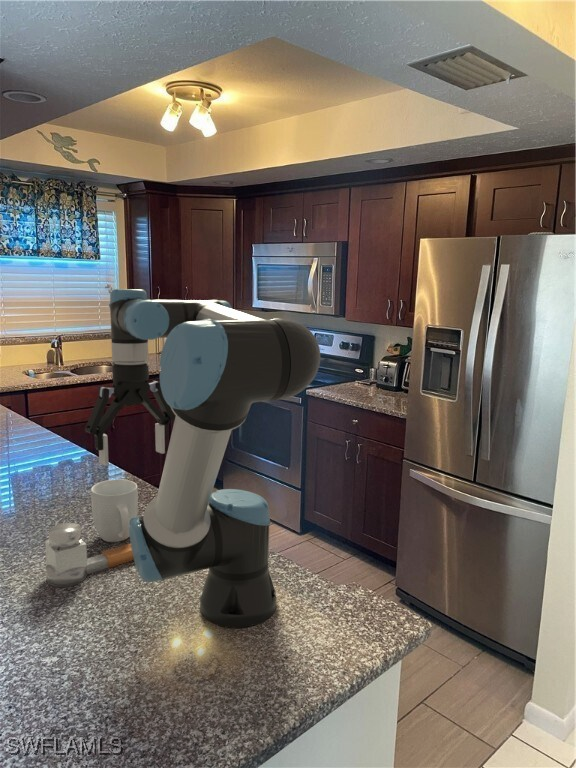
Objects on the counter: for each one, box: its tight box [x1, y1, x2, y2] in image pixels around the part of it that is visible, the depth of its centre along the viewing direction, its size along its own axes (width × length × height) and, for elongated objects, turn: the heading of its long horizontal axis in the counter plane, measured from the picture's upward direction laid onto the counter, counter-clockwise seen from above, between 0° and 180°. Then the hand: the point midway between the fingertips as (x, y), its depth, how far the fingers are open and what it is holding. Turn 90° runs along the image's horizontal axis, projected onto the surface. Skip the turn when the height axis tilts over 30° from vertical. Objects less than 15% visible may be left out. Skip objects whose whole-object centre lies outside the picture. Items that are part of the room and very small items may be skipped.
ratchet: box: [45, 543, 134, 588], centre depth 124 cm, size 8×22×6 cm, turn 130°
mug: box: [90, 478, 139, 543], centre depth 137 cm, size 15×11×13 cm
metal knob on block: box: [44, 522, 88, 575], centre depth 119 cm, size 6×6×8 cm
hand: (133, 458), depth 123 cm, fingers open, 13 cm apart
